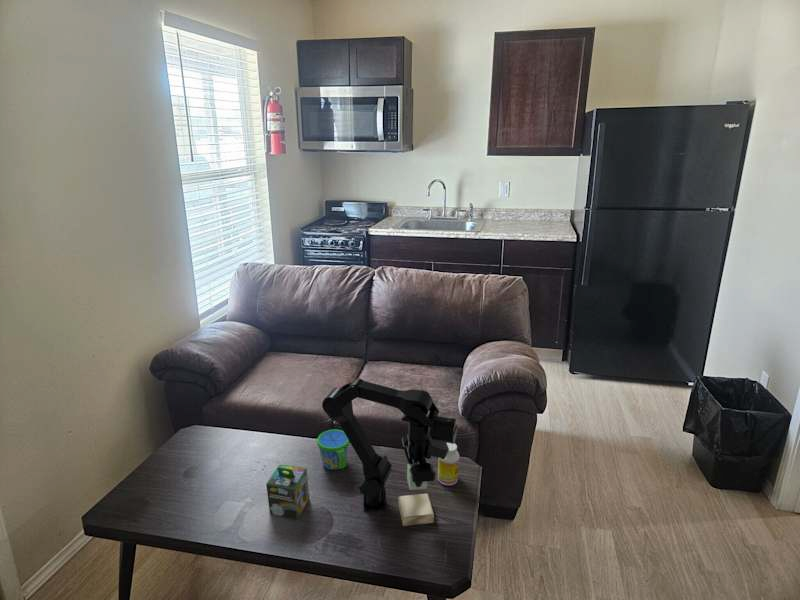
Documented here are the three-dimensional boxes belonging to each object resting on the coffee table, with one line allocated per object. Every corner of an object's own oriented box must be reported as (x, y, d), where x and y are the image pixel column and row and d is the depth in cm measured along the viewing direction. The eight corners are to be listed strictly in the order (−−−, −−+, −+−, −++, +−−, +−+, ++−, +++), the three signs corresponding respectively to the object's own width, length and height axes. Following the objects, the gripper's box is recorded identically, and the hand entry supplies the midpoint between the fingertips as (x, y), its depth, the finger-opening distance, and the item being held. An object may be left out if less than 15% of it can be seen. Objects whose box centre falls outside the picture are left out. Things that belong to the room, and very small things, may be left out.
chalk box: (310, 498, 158) (307, 458, 152) (297, 520, 149) (294, 478, 144) (282, 493, 160) (278, 453, 154) (268, 514, 151) (264, 473, 146)
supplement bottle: (456, 487, 163) (459, 454, 158) (436, 484, 164) (437, 451, 160) (459, 474, 169) (461, 441, 164) (438, 471, 170) (440, 438, 166)
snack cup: (356, 474, 168) (355, 448, 165) (325, 482, 164) (323, 456, 161) (342, 446, 182) (342, 422, 178) (313, 453, 178) (312, 428, 174)
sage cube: (409, 490, 146) (410, 475, 144) (406, 478, 151) (407, 464, 149) (427, 488, 147) (427, 474, 145) (423, 476, 151) (424, 462, 150)
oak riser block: (403, 525, 148) (403, 517, 147) (398, 503, 156) (398, 495, 155) (433, 522, 149) (434, 514, 148) (427, 500, 157) (427, 492, 156)
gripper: (455, 453, 136) (452, 500, 141) (439, 414, 153) (436, 457, 158) (413, 456, 134) (412, 504, 139) (402, 416, 151) (401, 460, 157)
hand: (416, 480), depth 148 cm, fingers closed on sage cube, 5 cm apart
